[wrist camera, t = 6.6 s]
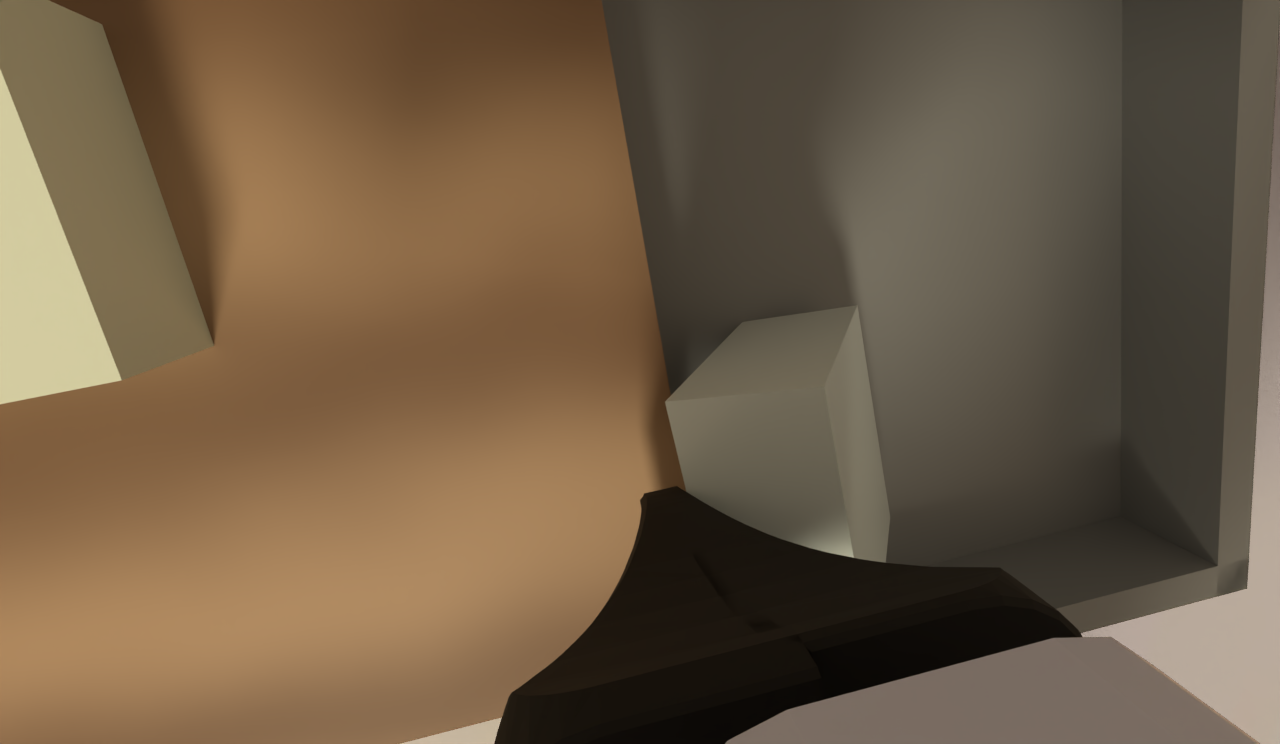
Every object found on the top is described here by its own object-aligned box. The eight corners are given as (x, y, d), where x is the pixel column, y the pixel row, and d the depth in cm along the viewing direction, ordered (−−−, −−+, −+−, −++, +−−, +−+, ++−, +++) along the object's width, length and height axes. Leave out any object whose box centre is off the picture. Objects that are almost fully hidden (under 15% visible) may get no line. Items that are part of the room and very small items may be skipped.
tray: (1128, 526, 18) (1246, 588, 15) (696, 635, 17) (730, 726, 14) (1132, -179, 14) (1297, -290, 11) (562, -100, 13) (568, -201, 10)
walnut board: (687, 585, 17) (717, 661, 14) (111, 726, 15) (10, 843, 12) (577, -17, 13) (587, -83, 10) (-176, 97, 12) (-406, 57, 9)
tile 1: (781, 518, 16) (890, 517, 15) (727, 662, 12) (874, 676, 11) (742, 321, 15) (857, 305, 14) (665, 402, 10) (824, 386, 9)
